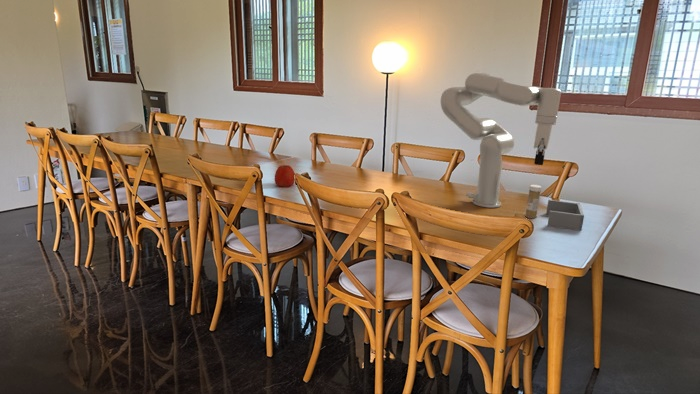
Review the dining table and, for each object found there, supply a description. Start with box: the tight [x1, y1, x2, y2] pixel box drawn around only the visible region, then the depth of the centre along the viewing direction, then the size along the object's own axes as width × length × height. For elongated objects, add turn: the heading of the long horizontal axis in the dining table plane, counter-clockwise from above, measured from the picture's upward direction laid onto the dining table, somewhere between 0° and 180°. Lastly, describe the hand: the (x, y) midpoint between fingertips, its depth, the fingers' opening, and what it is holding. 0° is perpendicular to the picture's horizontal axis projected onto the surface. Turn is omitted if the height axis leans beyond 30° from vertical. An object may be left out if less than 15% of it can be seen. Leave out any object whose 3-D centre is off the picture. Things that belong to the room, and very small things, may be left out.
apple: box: [274, 164, 296, 188], centre depth 220 cm, size 10×10×10 cm
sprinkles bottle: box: [524, 184, 542, 219], centre depth 182 cm, size 5×5×13 cm
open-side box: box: [545, 199, 585, 231], centre depth 179 cm, size 12×18×6 cm, turn 158°
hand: (538, 162), depth 180 cm, fingers open, 9 cm apart
